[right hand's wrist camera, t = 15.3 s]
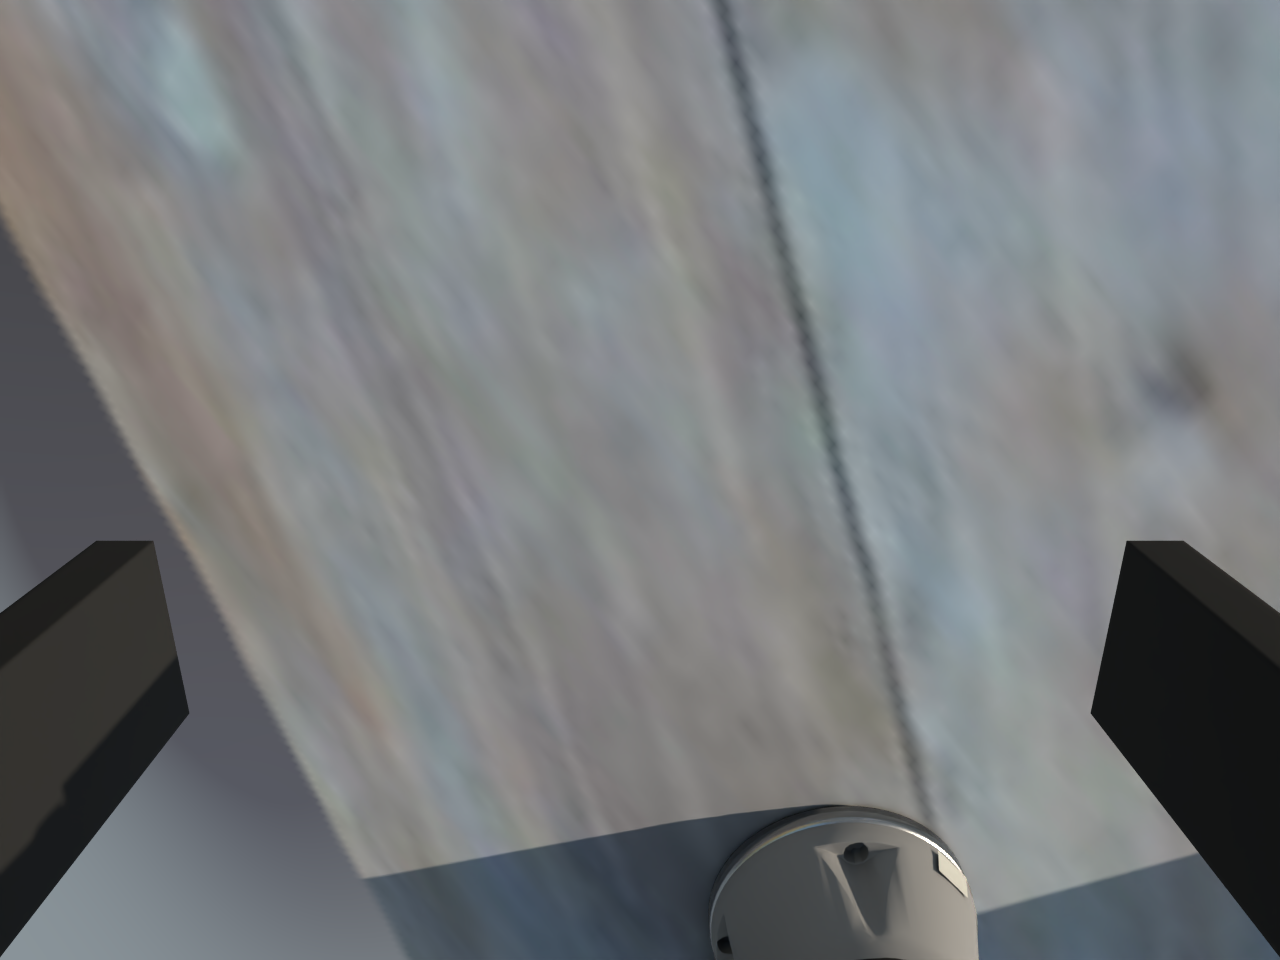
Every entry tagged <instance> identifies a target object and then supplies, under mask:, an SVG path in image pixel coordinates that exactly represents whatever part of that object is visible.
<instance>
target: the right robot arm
mask: <svg viewBox="0 0 1280 960" xmlns="http://www.w3.org/2000/svg"><path fill="white" fill-rule="evenodd" d="M188 714H189V709H188V705H187V700H186V695H185V690H184V685H183V681H182V676H181V671H180V666H179V661H178V657H177V652H176V647H175V642H174V638H173V633H172V628H171V623H170V619H169V614H168V609H167V604H166V600H165V595H164V590H163V585H162V580H161V576H160V571H159V566H158V561H157V556H156V551H155V547H154V542H153V541H96V542H94V543H93V544H92V545H90V546H89V547H88V548H86V549H85V550H84V551H82V552H81V553H80V554H78V555H77V556H76V557H74V558H73V559H72V560H70V561H69V562H68V563H66V564H65V565H64V566H62V567H61V568H60V569H58V570H57V571H56V572H54V573H53V574H52V575H51V576H49V577H48V578H46V579H45V580H44V581H43V582H41V583H40V584H38V585H37V586H36V587H34V588H33V589H32V590H31V591H29V592H28V593H26V594H25V595H24V596H22V597H21V598H20V599H19V600H17V601H16V602H15V603H13V604H12V605H11V606H9V607H8V608H7V609H5V610H4V611H3V612H1V613H0V957H1V955H2V954H3V953H4V951H5V950H6V949H7V948H8V946H9V945H10V944H11V942H12V941H13V940H14V939H15V937H16V936H17V935H18V933H19V932H20V931H21V930H22V928H23V927H24V926H25V924H26V923H27V922H28V921H29V919H30V918H31V917H32V915H33V914H34V913H35V912H36V910H37V909H38V908H39V906H40V905H41V904H42V902H43V901H44V900H45V899H46V897H47V896H48V895H49V893H50V892H51V891H52V890H53V888H54V887H55V886H56V884H57V883H58V882H59V881H60V879H61V878H62V877H63V875H64V874H65V873H66V872H67V870H68V869H69V868H70V866H71V865H72V864H73V863H74V861H75V860H76V859H77V857H78V856H79V855H80V853H81V852H82V851H83V850H84V848H85V847H86V846H87V845H88V843H89V842H90V841H91V839H92V838H93V837H94V835H95V834H96V833H97V832H98V830H99V829H100V828H101V826H102V825H103V824H104V823H105V821H106V820H107V819H108V817H109V816H110V815H111V814H112V812H113V811H114V810H115V808H116V807H117V806H118V805H119V803H120V802H121V801H122V799H123V798H124V797H125V796H126V794H127V793H128V792H129V790H130V789H131V788H132V787H133V785H134V784H135V783H136V781H137V780H138V779H139V777H140V776H141V775H142V774H143V772H144V771H145V770H146V768H147V767H148V766H149V765H150V763H151V762H152V761H153V759H154V758H155V757H156V756H157V754H158V753H159V752H160V750H161V749H162V748H163V747H164V745H165V744H166V743H167V741H168V740H169V739H170V738H171V736H172V735H173V734H174V732H175V731H176V730H177V728H178V727H179V726H180V725H181V723H182V722H183V721H184V719H185V718H186V717H187V716H188ZM1091 714H1092V716H1093V717H1094V718H1095V719H1096V721H1097V722H1098V723H1099V725H1100V726H1101V727H1102V729H1103V730H1104V731H1105V732H1106V734H1107V735H1108V736H1109V738H1110V739H1111V740H1112V741H1113V743H1114V744H1115V745H1116V747H1117V748H1118V749H1119V750H1120V752H1121V753H1122V754H1123V756H1124V757H1125V758H1126V759H1127V761H1128V762H1129V763H1130V765H1131V766H1132V767H1133V768H1134V770H1135V771H1136V772H1137V774H1138V775H1139V776H1140V777H1141V779H1142V780H1143V781H1144V783H1145V784H1146V785H1147V787H1148V788H1149V789H1150V790H1151V792H1152V793H1153V794H1154V796H1155V797H1156V798H1157V799H1158V801H1159V802H1160V803H1161V805H1162V806H1163V807H1164V808H1165V810H1166V811H1167V812H1168V814H1169V815H1170V816H1171V817H1172V819H1173V820H1174V821H1175V823H1176V824H1177V825H1178V826H1179V828H1180V829H1181V830H1182V832H1183V833H1184V834H1185V835H1186V837H1187V838H1188V839H1189V841H1190V842H1191V843H1192V845H1193V846H1194V847H1195V848H1196V850H1197V851H1198V852H1199V854H1200V855H1201V856H1202V857H1203V859H1204V860H1205V861H1206V863H1207V864H1208V865H1209V866H1210V868H1211V869H1212V870H1213V872H1214V873H1215V874H1216V875H1217V877H1218V878H1219V879H1220V881H1221V882H1222V883H1223V884H1224V886H1225V887H1226V888H1227V890H1228V891H1229V892H1230V894H1231V895H1232V896H1233V897H1234V899H1235V900H1236V901H1237V903H1238V904H1239V905H1240V906H1241V908H1242V909H1243V910H1244V912H1245V913H1246V914H1247V915H1248V917H1249V918H1250V919H1251V921H1252V922H1253V923H1254V924H1255V926H1256V927H1257V928H1258V930H1259V931H1260V932H1261V933H1262V935H1263V936H1264V937H1265V939H1266V940H1267V941H1268V942H1269V944H1270V945H1271V946H1272V948H1273V949H1274V950H1275V952H1276V953H1277V954H1278V955H1279V957H1280V613H1279V612H1277V611H1276V610H1275V609H1273V608H1272V607H1271V606H1269V605H1268V604H1267V603H1266V602H1264V601H1263V600H1262V599H1260V598H1259V597H1258V596H1256V595H1255V594H1254V593H1252V592H1251V591H1250V590H1248V589H1247V588H1246V587H1244V586H1243V585H1242V584H1240V583H1239V582H1238V581H1236V580H1235V579H1234V578H1232V577H1231V576H1230V575H1228V574H1227V573H1226V572H1224V571H1223V570H1222V569H1220V568H1219V567H1218V566H1216V565H1215V564H1214V563H1212V562H1211V561H1210V560H1208V559H1207V558H1206V557H1204V556H1203V555H1202V554H1200V553H1199V552H1198V551H1196V550H1195V549H1194V548H1192V547H1191V546H1190V545H1188V544H1187V543H1186V542H1184V541H1127V542H1126V547H1125V551H1124V556H1123V561H1122V566H1121V571H1120V575H1119V580H1118V585H1117V590H1116V595H1115V599H1114V604H1113V609H1112V614H1111V618H1110V623H1109V628H1108V633H1107V638H1106V642H1105V647H1104V652H1103V657H1102V661H1101V666H1100V671H1099V676H1098V681H1097V685H1096V690H1095V695H1094V700H1093V705H1092V709H1091ZM708 911H709V928H710V938H711V945H712V949H713V953H714V956H715V960H979V956H978V939H977V935H978V925H977V914H976V910H975V905H974V901H973V897H972V893H971V890H970V887H969V885H968V882H967V880H966V877H965V876H964V873H963V871H962V869H961V866H960V864H959V862H958V860H957V859H956V857H955V855H954V854H953V852H952V851H951V850H950V849H949V847H948V846H947V845H946V844H945V843H944V842H943V841H942V840H941V839H940V838H939V837H938V836H937V835H935V834H934V833H933V832H932V831H930V830H929V829H927V828H926V827H924V826H923V825H921V824H919V823H917V822H915V821H913V820H911V819H909V818H907V817H904V816H902V815H899V814H896V813H892V812H889V811H885V810H880V809H876V808H868V807H858V806H838V807H827V808H820V809H815V810H810V811H806V812H802V813H798V814H795V815H792V816H790V817H787V818H784V819H782V820H780V821H777V822H775V823H773V824H771V825H769V826H768V827H766V828H764V829H762V830H761V831H759V832H758V833H756V834H755V835H753V836H752V837H750V838H749V839H748V840H747V841H746V842H744V843H743V844H742V845H741V846H740V847H739V848H738V849H737V850H736V851H735V852H734V853H733V854H732V855H731V857H730V858H729V859H728V860H727V861H726V863H725V864H724V866H723V867H722V869H721V871H720V872H719V874H718V876H717V878H716V880H715V883H714V886H713V888H712V891H711V896H710V900H709V910H708Z"/></svg>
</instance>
